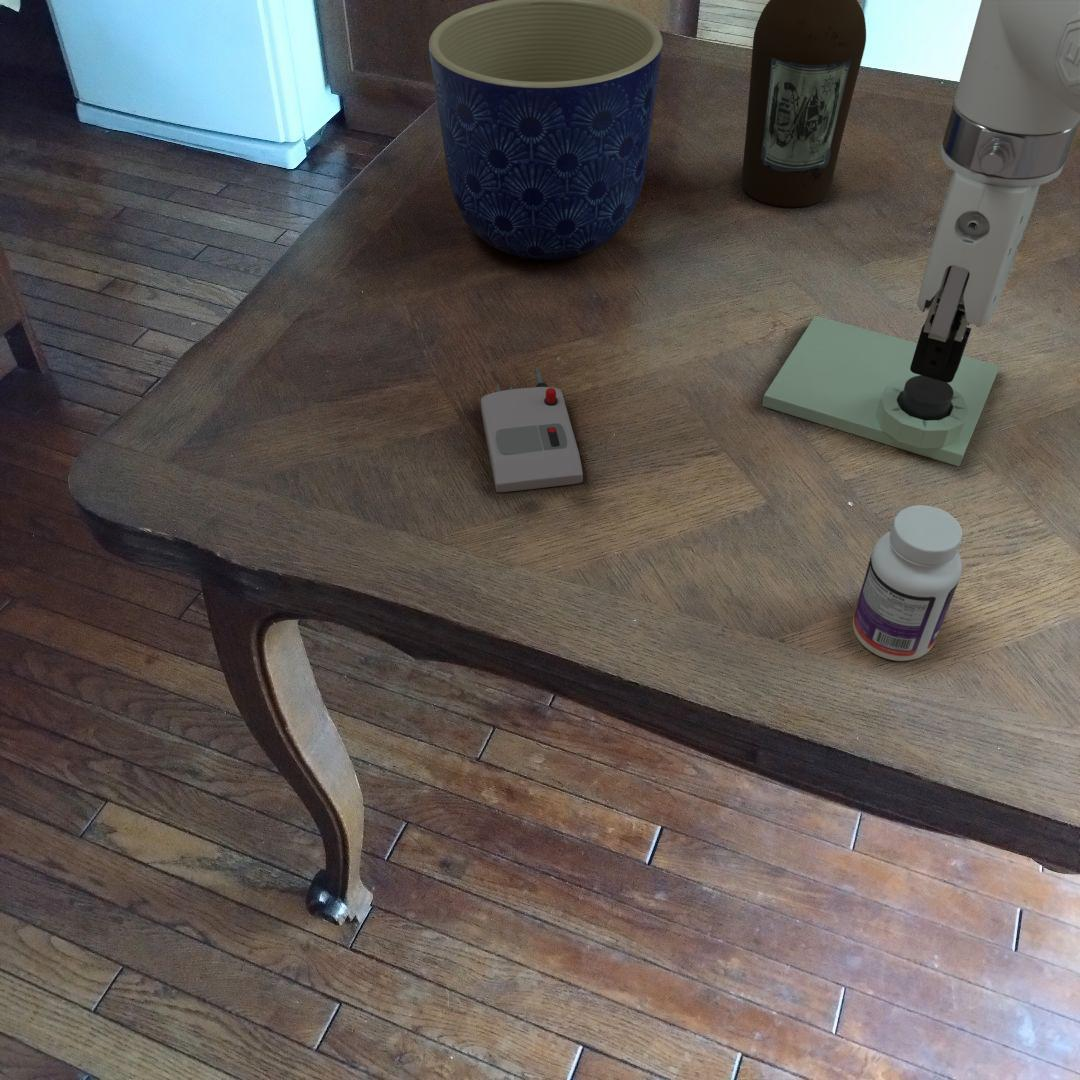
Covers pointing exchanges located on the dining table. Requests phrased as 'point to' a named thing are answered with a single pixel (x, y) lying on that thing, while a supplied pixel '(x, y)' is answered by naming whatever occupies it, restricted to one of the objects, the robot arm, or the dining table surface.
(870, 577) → the pill bottle
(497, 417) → the remote control
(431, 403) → the dining table surface
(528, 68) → the planter
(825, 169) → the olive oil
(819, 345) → the green dial board
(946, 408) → the tare button
